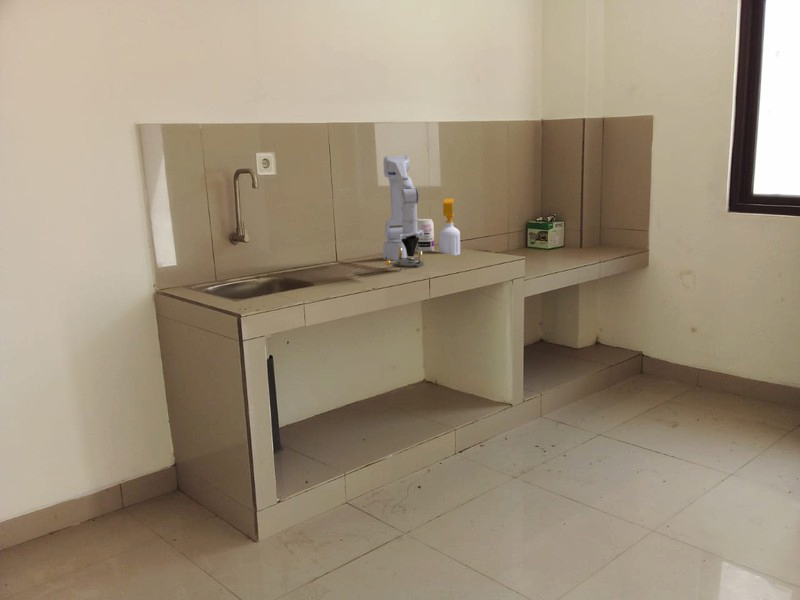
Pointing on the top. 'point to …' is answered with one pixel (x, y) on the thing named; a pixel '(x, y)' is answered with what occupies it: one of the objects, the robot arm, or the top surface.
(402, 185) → the robot arm
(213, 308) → the top surface
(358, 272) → the top surface
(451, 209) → the soap bottle
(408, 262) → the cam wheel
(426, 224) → the supplement can
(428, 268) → the top surface
